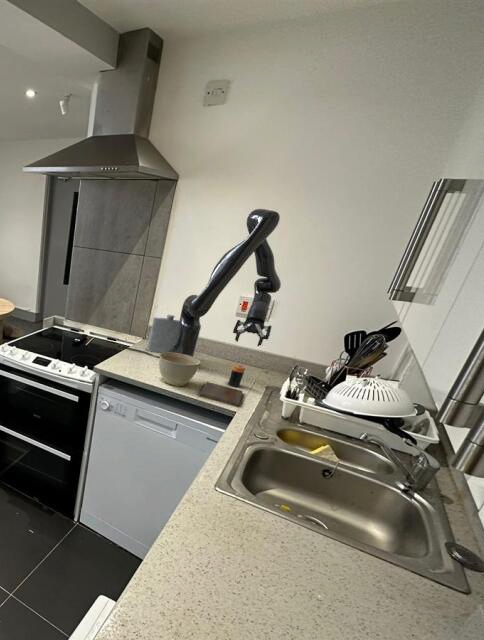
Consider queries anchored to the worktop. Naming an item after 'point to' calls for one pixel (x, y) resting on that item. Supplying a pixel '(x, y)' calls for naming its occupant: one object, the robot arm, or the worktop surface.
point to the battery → (236, 375)
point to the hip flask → (163, 334)
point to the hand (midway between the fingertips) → (247, 343)
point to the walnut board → (221, 393)
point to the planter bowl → (177, 368)
